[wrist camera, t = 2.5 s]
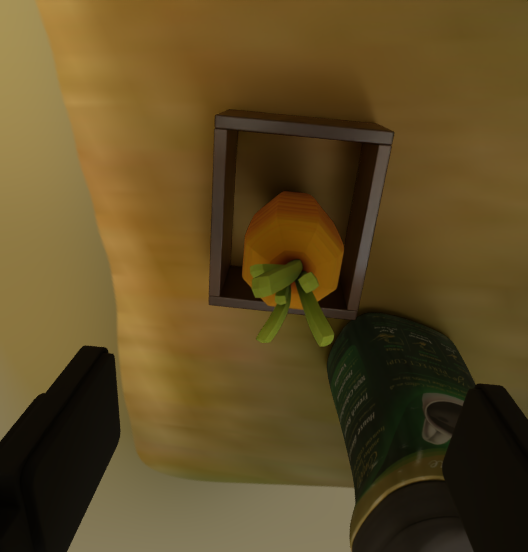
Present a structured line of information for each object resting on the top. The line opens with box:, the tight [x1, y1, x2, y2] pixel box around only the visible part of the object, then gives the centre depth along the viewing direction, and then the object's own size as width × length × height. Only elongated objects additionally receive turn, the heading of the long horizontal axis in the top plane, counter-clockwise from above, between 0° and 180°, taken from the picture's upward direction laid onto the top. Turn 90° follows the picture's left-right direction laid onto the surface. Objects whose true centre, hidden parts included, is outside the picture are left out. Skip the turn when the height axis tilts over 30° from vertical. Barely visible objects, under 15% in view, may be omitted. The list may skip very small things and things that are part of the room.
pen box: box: [209, 109, 394, 320], centre depth 26 cm, size 11×9×5 cm
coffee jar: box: [327, 313, 476, 552], centre depth 25 cm, size 10×8×19 cm
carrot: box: [242, 191, 344, 347], centre depth 22 cm, size 5×5×15 cm
